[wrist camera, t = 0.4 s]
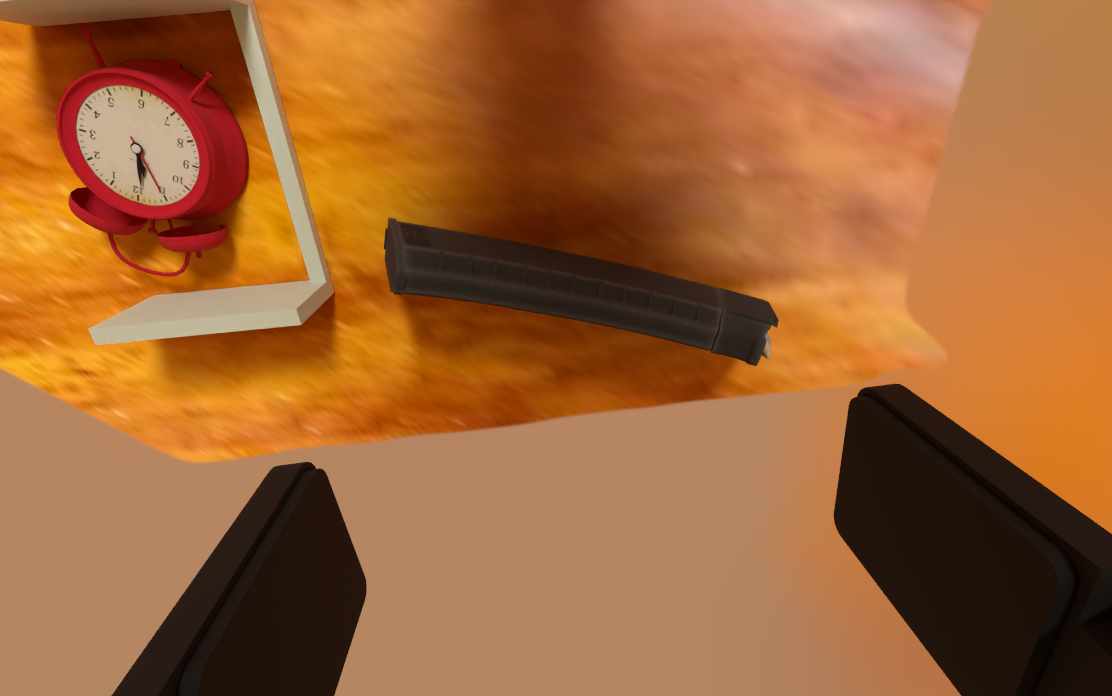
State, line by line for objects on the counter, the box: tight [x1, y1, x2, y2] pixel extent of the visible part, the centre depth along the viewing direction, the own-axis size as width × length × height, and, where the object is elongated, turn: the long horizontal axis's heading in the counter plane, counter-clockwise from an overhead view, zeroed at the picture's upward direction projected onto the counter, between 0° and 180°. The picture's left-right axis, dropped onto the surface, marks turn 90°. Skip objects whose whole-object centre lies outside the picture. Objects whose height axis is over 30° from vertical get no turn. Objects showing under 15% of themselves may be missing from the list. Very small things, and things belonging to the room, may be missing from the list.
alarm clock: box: [57, 28, 248, 276], centre depth 36 cm, size 10×6×15 cm
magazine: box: [384, 218, 778, 366], centre depth 38 cm, size 17×3×30 cm
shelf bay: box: [0, 0, 334, 345], centre depth 34 cm, size 21×14×7 cm
